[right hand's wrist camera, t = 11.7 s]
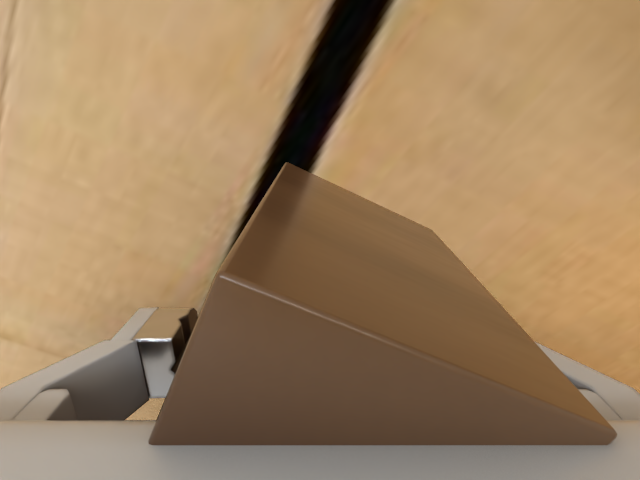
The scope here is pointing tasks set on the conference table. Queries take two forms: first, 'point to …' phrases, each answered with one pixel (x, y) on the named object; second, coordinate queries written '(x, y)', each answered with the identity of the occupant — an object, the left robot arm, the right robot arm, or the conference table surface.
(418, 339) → the bar
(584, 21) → the conference table surface
